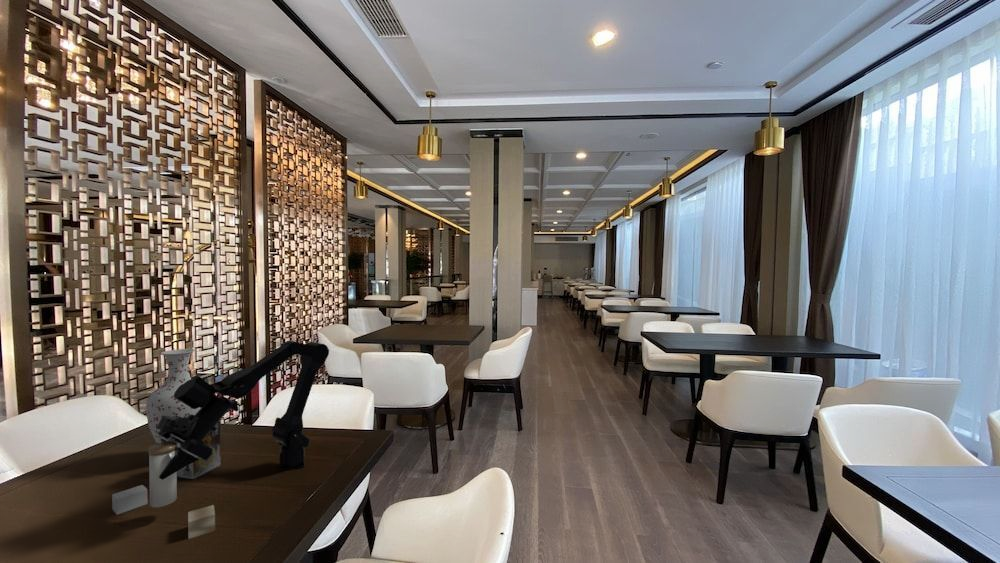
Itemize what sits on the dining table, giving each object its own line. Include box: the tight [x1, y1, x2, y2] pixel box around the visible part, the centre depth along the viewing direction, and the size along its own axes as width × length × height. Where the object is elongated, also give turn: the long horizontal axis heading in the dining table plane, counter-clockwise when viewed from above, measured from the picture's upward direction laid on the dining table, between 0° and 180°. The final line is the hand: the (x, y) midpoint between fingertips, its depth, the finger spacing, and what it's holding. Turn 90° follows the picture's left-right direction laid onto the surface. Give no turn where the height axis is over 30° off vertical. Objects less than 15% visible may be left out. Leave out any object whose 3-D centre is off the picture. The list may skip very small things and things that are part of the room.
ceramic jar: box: [148, 441, 178, 508], centre depth 100 cm, size 5×5×14 cm
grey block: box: [111, 484, 148, 515], centre depth 105 cm, size 6×4×4 cm, turn 146°
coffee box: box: [177, 420, 222, 480], centre depth 124 cm, size 9×6×16 cm
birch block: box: [187, 504, 216, 540], centre depth 96 cm, size 5×5×4 cm
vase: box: [145, 348, 201, 444], centre depth 134 cm, size 16×16×35 cm
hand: (156, 475), depth 99 cm, fingers closed on ceramic jar, 5 cm apart
